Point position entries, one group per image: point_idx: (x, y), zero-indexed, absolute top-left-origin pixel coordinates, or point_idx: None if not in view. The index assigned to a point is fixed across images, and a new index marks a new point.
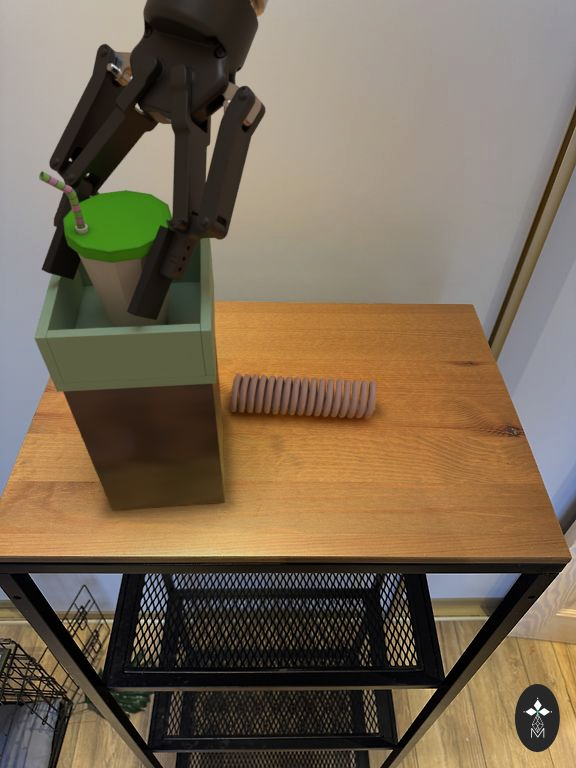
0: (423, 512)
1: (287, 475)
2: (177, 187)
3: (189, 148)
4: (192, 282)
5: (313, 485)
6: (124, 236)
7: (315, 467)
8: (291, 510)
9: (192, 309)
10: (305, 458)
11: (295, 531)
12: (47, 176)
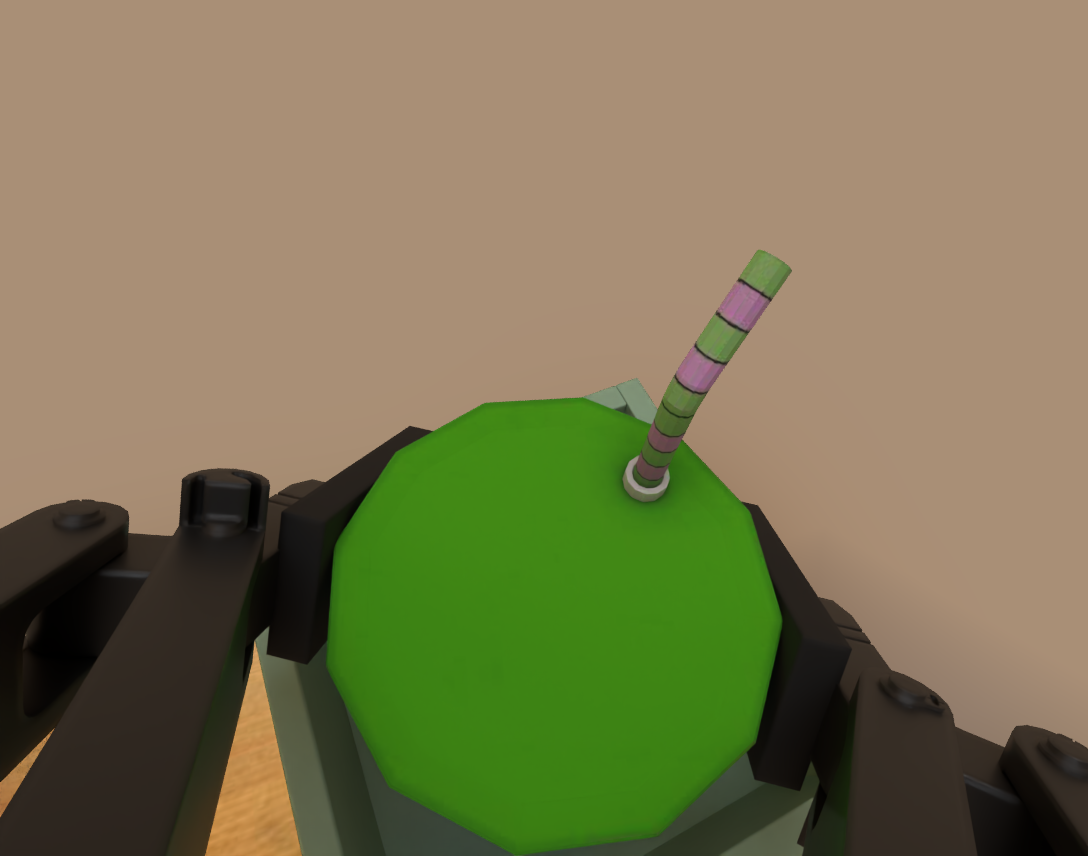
0: (2, 801)
1: (286, 788)
2: (204, 615)
3: (6, 817)
4: None
5: (231, 783)
6: (480, 497)
7: (229, 831)
8: (269, 712)
9: (415, 804)
10: (252, 848)
11: (258, 673)
12: (751, 271)
